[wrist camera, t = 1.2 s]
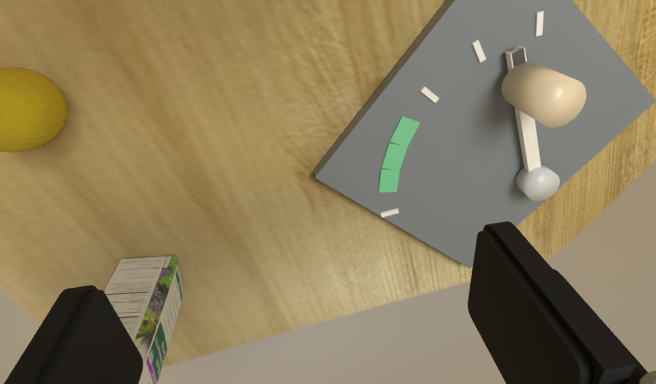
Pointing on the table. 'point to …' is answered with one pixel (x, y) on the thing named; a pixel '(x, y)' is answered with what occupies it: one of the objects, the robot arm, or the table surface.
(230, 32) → the table surface
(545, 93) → the tuning lever
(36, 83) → the lemon
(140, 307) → the syrup box
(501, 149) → the dial board
